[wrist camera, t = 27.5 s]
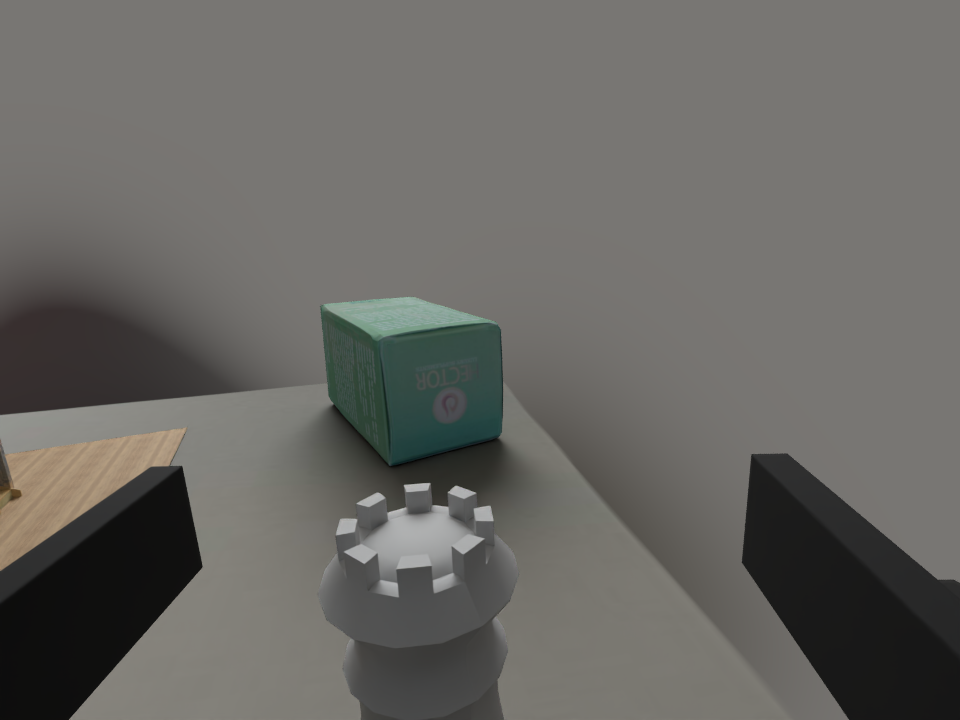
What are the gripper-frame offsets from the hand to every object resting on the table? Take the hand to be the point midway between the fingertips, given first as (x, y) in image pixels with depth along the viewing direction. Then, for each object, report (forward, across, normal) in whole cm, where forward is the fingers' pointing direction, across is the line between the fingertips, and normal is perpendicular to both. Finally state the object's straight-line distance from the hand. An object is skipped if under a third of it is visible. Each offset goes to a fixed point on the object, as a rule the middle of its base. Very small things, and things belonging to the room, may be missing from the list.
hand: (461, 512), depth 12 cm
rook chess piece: (-3, 0, -6) cm, 7 cm away
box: (+22, -6, -6) cm, 24 cm away
